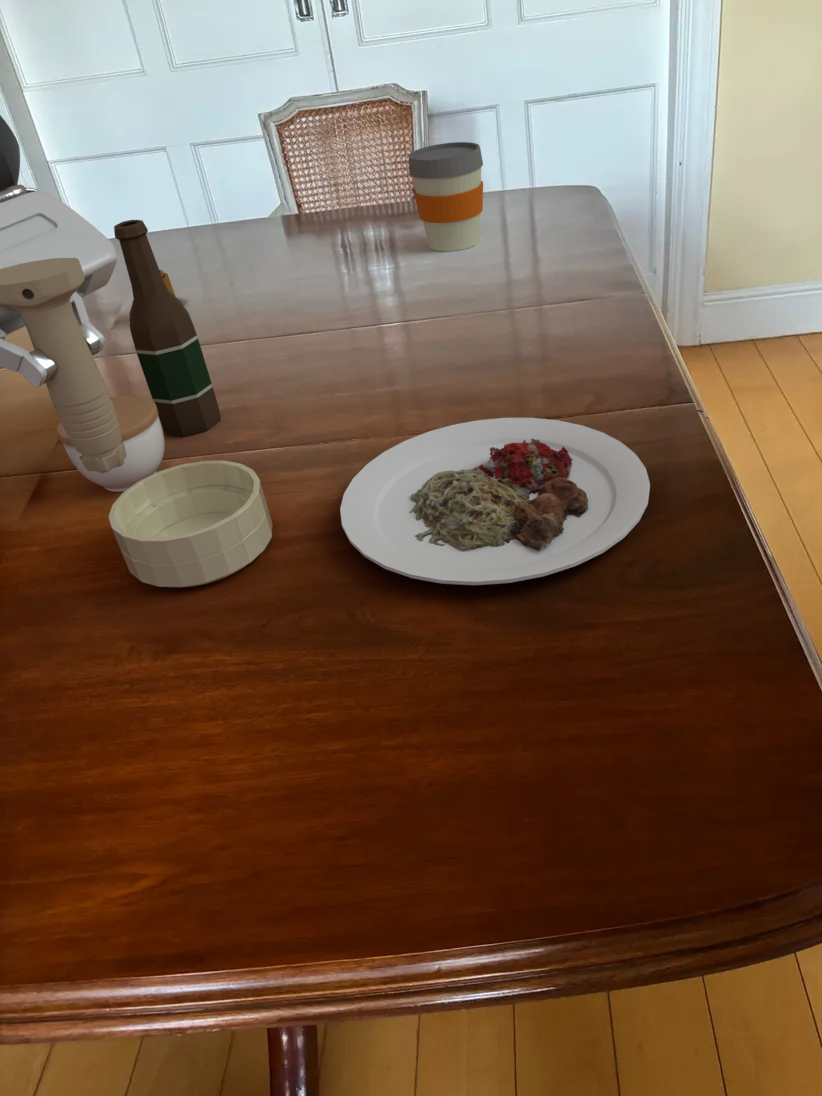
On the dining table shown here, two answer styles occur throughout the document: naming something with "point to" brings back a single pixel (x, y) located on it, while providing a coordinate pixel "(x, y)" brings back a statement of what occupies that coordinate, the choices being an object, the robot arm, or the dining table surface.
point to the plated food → (495, 501)
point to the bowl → (192, 523)
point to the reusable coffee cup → (448, 193)
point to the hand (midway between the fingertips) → (72, 364)
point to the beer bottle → (166, 341)
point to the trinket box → (127, 444)
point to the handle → (66, 356)
